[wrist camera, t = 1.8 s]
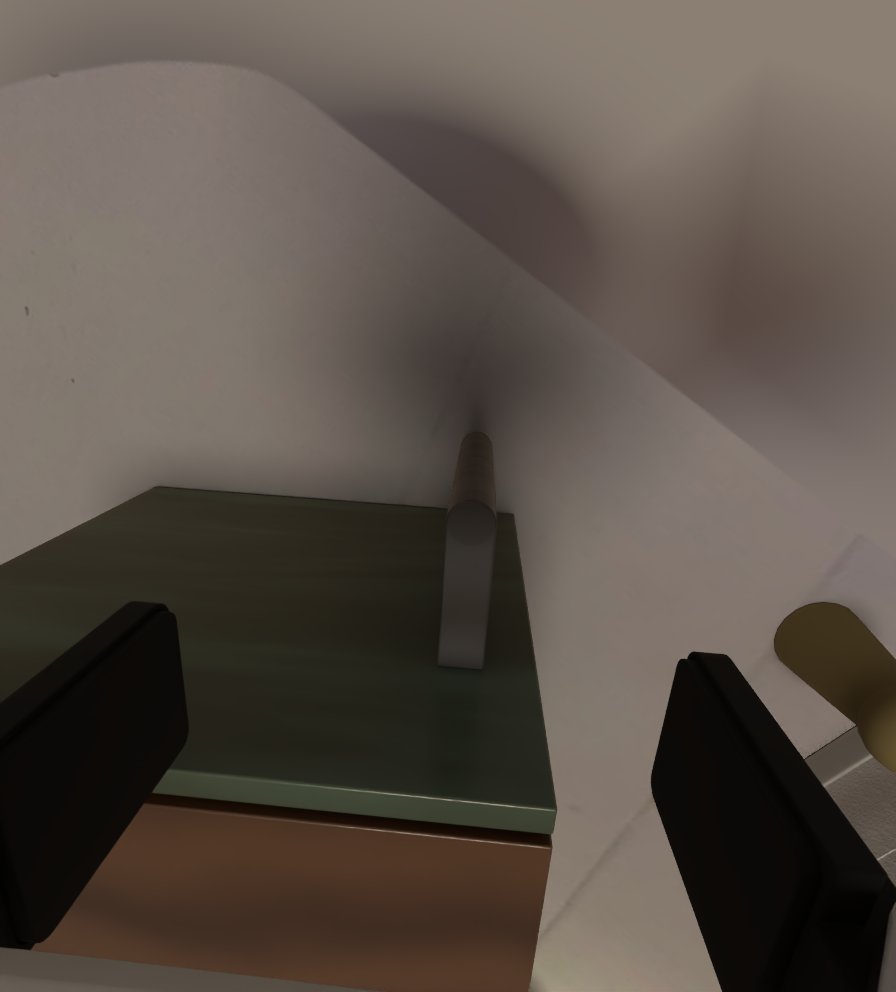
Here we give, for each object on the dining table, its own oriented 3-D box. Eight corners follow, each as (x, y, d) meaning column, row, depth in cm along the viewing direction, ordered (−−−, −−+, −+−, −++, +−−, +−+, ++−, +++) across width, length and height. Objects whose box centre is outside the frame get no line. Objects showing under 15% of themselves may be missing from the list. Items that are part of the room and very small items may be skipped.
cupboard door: (142, 390, 36) (-419, 505, 14) (524, 416, 35) (594, 589, 13) (156, 499, 39) (-298, 747, 16) (512, 527, 37) (553, 836, 15)
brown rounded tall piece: (796, 593, 38) (914, 697, 27) (877, 613, 38) (1025, 725, 27) (760, 662, 40) (857, 784, 29) (837, 681, 40) (962, 810, 29)
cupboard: (158, 501, 39) (-303, 757, 16) (512, 529, 38) (553, 847, 15) (183, 702, 45) (-131, 1100, 22) (491, 732, 43) (497, 1184, 21)
